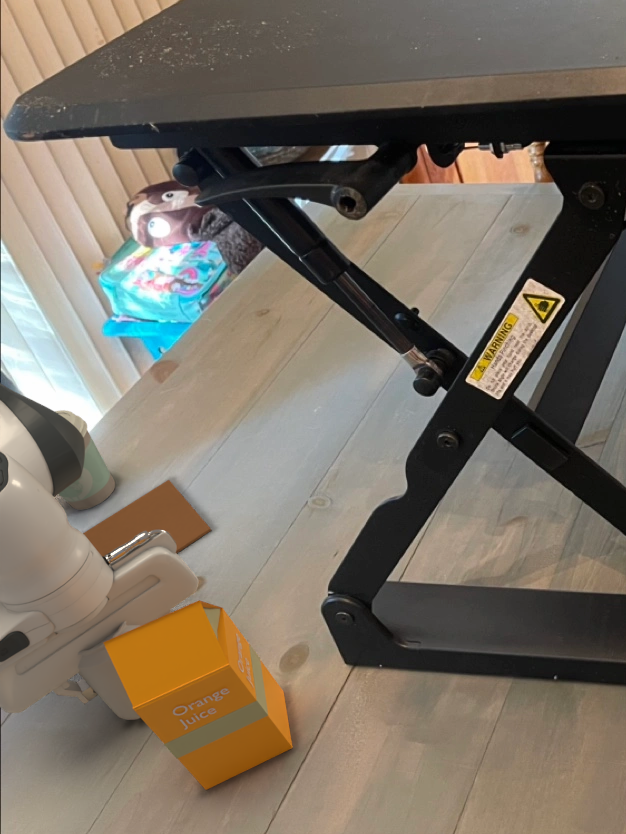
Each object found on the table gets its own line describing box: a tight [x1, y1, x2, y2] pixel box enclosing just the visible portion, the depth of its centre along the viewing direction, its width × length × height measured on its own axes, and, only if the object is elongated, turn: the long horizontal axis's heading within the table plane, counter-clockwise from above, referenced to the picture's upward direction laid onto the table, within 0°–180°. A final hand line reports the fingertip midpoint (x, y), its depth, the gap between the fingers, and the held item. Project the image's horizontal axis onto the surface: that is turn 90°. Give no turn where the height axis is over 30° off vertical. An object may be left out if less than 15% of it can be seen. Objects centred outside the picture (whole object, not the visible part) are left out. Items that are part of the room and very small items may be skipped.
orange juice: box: [103, 600, 294, 791], centre depth 103 cm, size 8×9×20 cm
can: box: [77, 621, 141, 721], centre depth 112 cm, size 8×8×12 cm
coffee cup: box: [53, 409, 116, 511], centre depth 139 cm, size 9×8×12 cm
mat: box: [82, 479, 212, 556], centre depth 135 cm, size 14×14×1 cm
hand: (129, 668), depth 112 cm, fingers closed on can, 7 cm apart
